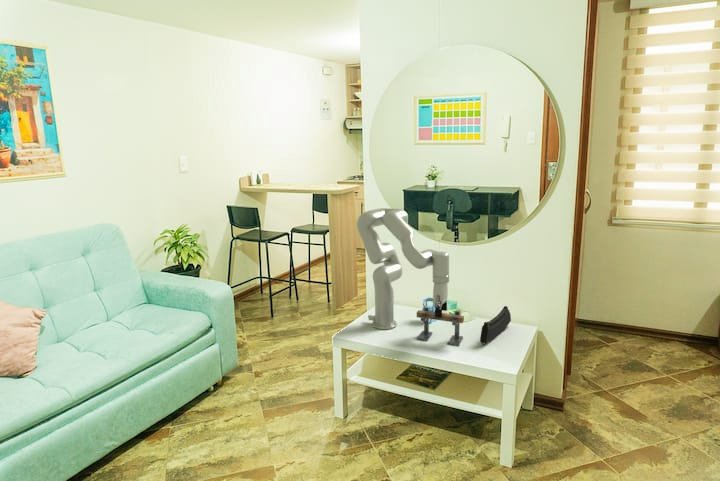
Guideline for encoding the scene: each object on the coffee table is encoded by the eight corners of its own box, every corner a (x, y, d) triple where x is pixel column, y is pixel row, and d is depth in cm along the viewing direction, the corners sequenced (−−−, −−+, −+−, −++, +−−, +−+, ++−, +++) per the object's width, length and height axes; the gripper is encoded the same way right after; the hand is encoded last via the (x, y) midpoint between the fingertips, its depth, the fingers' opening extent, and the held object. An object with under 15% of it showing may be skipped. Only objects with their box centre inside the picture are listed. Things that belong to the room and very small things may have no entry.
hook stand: (417, 339, 232) (417, 311, 229) (422, 332, 240) (422, 305, 237) (459, 345, 224) (459, 317, 221) (463, 338, 232) (463, 310, 229)
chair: (420, 322, 253) (420, 300, 250) (424, 317, 260) (424, 295, 258) (434, 324, 250) (435, 302, 247) (438, 318, 258) (438, 297, 255)
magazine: (484, 329, 220) (509, 294, 240) (478, 328, 222) (502, 293, 242) (487, 359, 227) (511, 322, 247) (481, 357, 229) (505, 321, 249)
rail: (416, 317, 232) (416, 312, 231) (418, 315, 235) (418, 310, 234) (462, 323, 223) (462, 318, 223) (463, 320, 226) (464, 315, 226)
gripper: (437, 273, 234) (437, 307, 237) (427, 283, 219) (428, 319, 222) (453, 274, 231) (453, 308, 234) (444, 284, 216) (444, 320, 219)
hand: (441, 313), depth 228 cm, fingers open, 9 cm apart
